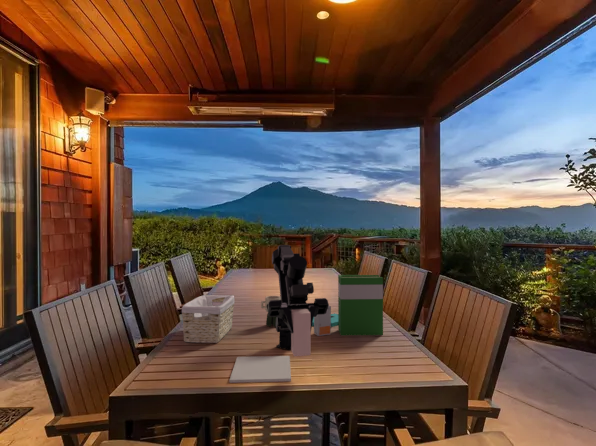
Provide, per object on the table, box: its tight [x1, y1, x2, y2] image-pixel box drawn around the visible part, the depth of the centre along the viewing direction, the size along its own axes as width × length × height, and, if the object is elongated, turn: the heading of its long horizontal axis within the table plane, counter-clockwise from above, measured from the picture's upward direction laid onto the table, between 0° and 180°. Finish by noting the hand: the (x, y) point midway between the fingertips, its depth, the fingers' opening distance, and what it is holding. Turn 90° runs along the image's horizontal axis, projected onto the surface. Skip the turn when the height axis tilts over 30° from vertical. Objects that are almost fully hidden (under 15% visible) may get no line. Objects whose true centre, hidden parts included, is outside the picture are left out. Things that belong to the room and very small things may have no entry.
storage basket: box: [181, 294, 236, 344], centre depth 149 cm, size 24×16×15 cm
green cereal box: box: [337, 274, 384, 336], centre depth 151 cm, size 18×7×24 cm, turn 91°
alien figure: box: [312, 313, 338, 328], centre depth 169 cm, size 20×2×20 cm
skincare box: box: [313, 305, 332, 337], centre depth 149 cm, size 6×4×12 cm
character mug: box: [260, 295, 281, 327], centre depth 161 cm, size 11×7×13 cm, turn 87°
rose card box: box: [290, 309, 312, 357], centre depth 107 cm, size 5×5×12 cm
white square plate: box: [229, 355, 292, 384], centre depth 113 cm, size 18×18×1 cm
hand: (301, 332), depth 106 cm, fingers closed on rose card box, 5 cm apart
